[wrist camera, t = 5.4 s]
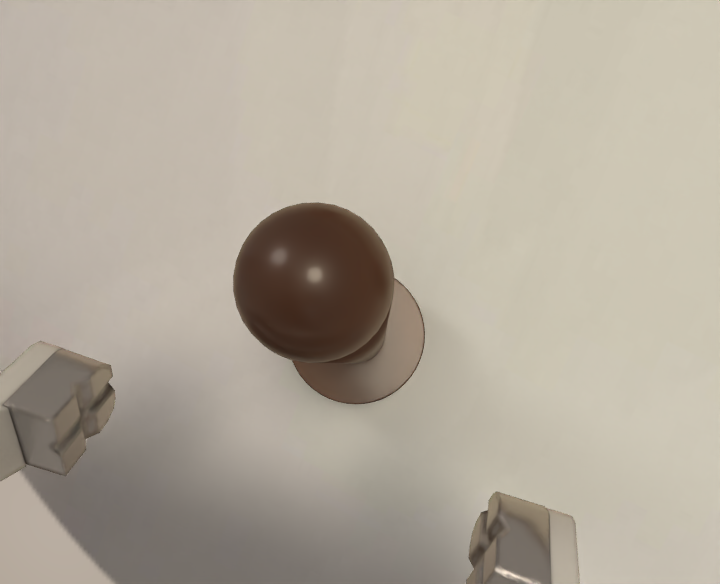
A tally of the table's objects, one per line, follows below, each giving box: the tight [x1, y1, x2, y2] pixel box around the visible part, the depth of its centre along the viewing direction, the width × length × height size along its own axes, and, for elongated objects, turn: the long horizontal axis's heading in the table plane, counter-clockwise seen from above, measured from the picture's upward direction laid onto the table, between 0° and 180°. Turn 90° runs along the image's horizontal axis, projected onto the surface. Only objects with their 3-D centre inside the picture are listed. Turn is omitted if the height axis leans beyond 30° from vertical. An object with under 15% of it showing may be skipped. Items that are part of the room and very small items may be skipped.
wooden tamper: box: [233, 203, 425, 404], centre depth 15 cm, size 5×5×17 cm
